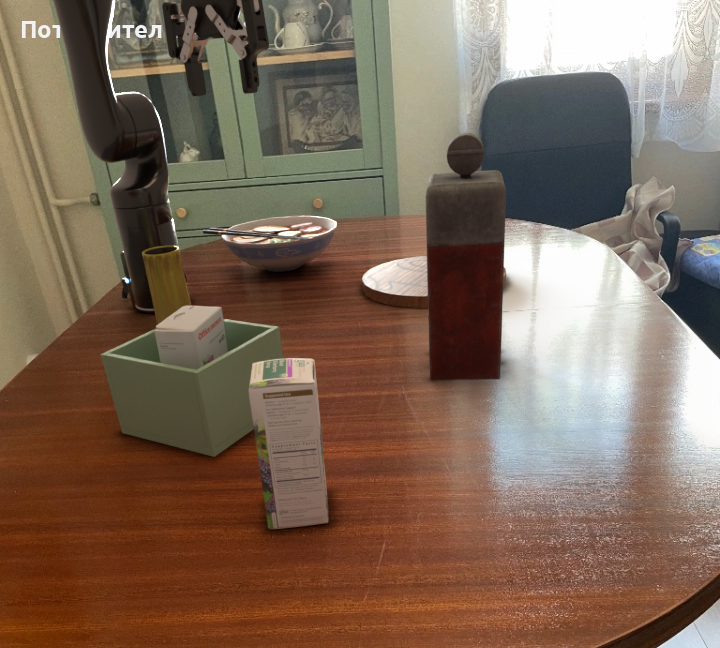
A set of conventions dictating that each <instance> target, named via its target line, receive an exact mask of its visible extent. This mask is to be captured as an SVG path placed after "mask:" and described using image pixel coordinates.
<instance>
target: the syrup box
mask: <svg viewBox="0 0 720 648" xmlns="http://www.w3.org/2000/svg"><path fill="white" fill-rule="evenodd" d="M248 391H249V399H250V406H251V412H252V419H253V426H254V429H253V433H254V440H255V447H256V453H257V460H258V467H259V468H258V469H259V474H260V481H261V488H262V489H261V490H262V495H263V501H264V509H265V515H266V523H267V529H269V530H280V529H288V528H297V527H299V528H300V527H307V526H314V525H322V524H323V525H324V524H328V523H329V522H330V520H329V519H330V517H329V504H328V503H329V502H328V489H327V478H326V476H327V475H326V467H325V466H326V465H325V456H324V443H323V432H322V423H321V413H320V404H319V393H318V392H319V391H318V382H317V373H316V363H315V359H313V358H305V357H288V358H285V357H284V358H283V359H274V360H267V361H261V362H257V363H253V364H252V370H251V378H250V386H249V390H248Z"/></svg>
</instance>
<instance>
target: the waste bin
mask: <svg viewBox="0 0 720 648" xmlns="http://www.w3.org/2000/svg"><path fill="white" fill-rule="evenodd" d="M223 321H224V328H225V334H226V341H227V348H228V353H226V354H224V355H222V356H220V357H219V358H217V359H215V360H213V361H211V362H210V363H208V364H206V365H204V366H203V367H201V368H199V369H197V370H195V369H190V368H185V367H179V366H174V365H169V364H164V363H161V361H160V357H159V352H158V347H157V342H156V337H155V332H154V331H155V330H156V329H157V328H156V327H155V328H154V329H151V330H150V331H147V332H145V333H143V334H141V335H139V336H136V337H134V338H133V339H130V340H128V341H125V342H124V343H121V344H120V345H118V346H116V347H115V346H114V347H113V348H110V349H109V350H107V351H105V352H103V353H101V354H100V357H101V361H102V365H103V369H104V372H105V375H106V379H107V380H106V381H107V383H108V387H109V391H110V394H111V398H112V401H113V405H114V409H115V412H116V415H117V419H118V423H119V427H120V430H121V433H122V434H124V435H128V436H132V437H136V438H140V439H143V440H148V441H151V442H155V443H159V444H163V445H168V446H169V447H170V446H171V447H174V448H178V449H182V450H186V451H190V452H194V453H198V454H200V455H201V454H202V455H204V456H205V455H206V456H208V457H213V458H215V457H217V456H218V455H220V454H221V453H222V452H224V451H225V450H227V448H229V447H231V446H232V445H234V444H236V442H238V441H239V440H241V439H242V438H244V437H245V436H246V435H248V434H249V433H251V432H252V431H254V426H253V419H252V412H251V406H250V399H249V391H248V390H249V386H250V378H251V370H252V364H253V363H257V362H261V361H267V360H274V359H284V352H283V346H282V339H281V331H280V326H275V325H269V324H262V323H256V322H255V323H254V322H247V321H241V320H233V319H227V318H223Z"/></svg>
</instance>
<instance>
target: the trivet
mask: <svg viewBox="0 0 720 648" xmlns="http://www.w3.org/2000/svg"><path fill="white" fill-rule="evenodd" d="M361 283H362V291H363V294H364V295H365V296H366V297H367V298H369V299H370V300H372V301H374V302H378V303H381V304H384V305H389V306H395V307H400V308H417V309H428V281H427V254H426V255H419V256H418V255H417V256H410V257H405V258H399V259H394V260H389V261H387V262H384V263H381V264H378V265H376V266H374V267H372V268H370V269H369V270H367V271H365V272H364V274H363V276H362V278H361ZM506 285H507V269H506V267H504V274H503V289H504V288H506Z"/></svg>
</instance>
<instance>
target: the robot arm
mask: <svg viewBox="0 0 720 648" xmlns="http://www.w3.org/2000/svg"><path fill="white" fill-rule="evenodd" d="M52 2H53V3H52V4H53V6H54V10H55V13H56V18H57V21H58V25H59V29H60V33H61V37H62V40H63V45H64V49H65V53H66V56H67V57H66V58H67V62H68V66H69V71H70V76H71V77H70V78H71V83H72V87H73V94H74V99H75V105H76V109H77V113H78V119H79V123H80V127H81V131H82V133H83V136H84V138H85V141H86V144H87V146H88V147H89V150H90V151H91V152H92V154H93V155H94V156H95V157H96V158H97V159H98V160H100V161H102V162H104V163H106V164H113V163H114V164H115V163H120V162H124V170H123V172H122V174H121V176H120V178H119V179H117V181H116V182H115V183H114V184H113V185H112V186H111V187H110V189H109V198H110V202H111V206H112V209H113V214H114V215H113V216H114V219H115V222H116V227H117V230H118V235H119V239H120V243H121V248H122V251H121V252H120V254H119V256H120V260H121V264H122V268H123V273H124V276H125V277H122V278H121V284H122V289H121V298H123V299H128V294H129V298H130V301H131V307H132V308H135V310H137V311H139V312H141V313H146V314H147V313H149V314H153V313H154V314H155V311H154V306H153V301H152V296H151V292H150V287H149V283H148V278H147V274H146V268H145V264H144V259H143V255H142V252H143V251H144V250H146V249H149V248H153V247H158V246H167V245H171V246H177V247H178V248H179V249H180V246H179V241H178V237H177V231H176V226H175V222H174V216H173V211H172V206H171V201H170V197H169V185H170V172H169V171H170V170H169V166H168V165H169V164H168V159H167V151H166V143H165V137H164V131H163V127H162V122H161V119H160V116H159V113H158V111H157V110H156V109H157V108H156V107H155V106H154V104H153V103H152V101H151V100H150V99H149V98H148V97H147V96H145V95H144V94H142V93H140V92H136V91H130V92H129V91H128V92H121V93H120V92H119V93H115V91H114V87H113V82H112V78H111V73H110V69H109V68H110V67H109V60H108V45H109V38H110V33H111V28H112V23H113V18H114V12H115V6H116V0H52ZM161 8H162V15H163V23H164V29H165V36H166V43H167V44H166V45H167V50H168V55H169V57H170V58H172V59H177V60H180V61H181V62H182V63H183V65H184V70H185V76H186V82H187V87H188V90H189V92H190V94H191V95H192V96H193V97H200V96H201V97H202V96H206V95H207V86H206V81H205V80H206V79H205V75H204V74H205V73H204V67H203V62H199V61H200V59H201V57H202V53H203V50H204V47H205V46H207V44H208V42H209V40H217V39H224V40H225V42H227V44H229V45H231V47H232V48H233V49H234V51H235V52H236V54H237V55H238V57H239V58H240V59H238V66H239V74H240V81H241V88H242V92H243V94H245V95H249V94H255V93H256V94H257V92H258V91H259V87H260V76H259V75H260V74H259V66H258V56H259V54H261V53H262V52H264V51H268V50H269V48H270V41H269V35H268V28H267V22H266V17H265V10H264V3H263V0H180V1H164V2H163V3H162V7H161ZM241 13H242V14H243V20H244V22H243V21H242V20H241V18H240V14H241ZM185 20H187V23H186V21H185ZM179 252H180V253H181V251H180V250H179ZM182 267H183V265H182ZM183 272H184V277H185V281H186V283H188V279H187V274H186V273H185V271H184V270H183Z"/></svg>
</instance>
